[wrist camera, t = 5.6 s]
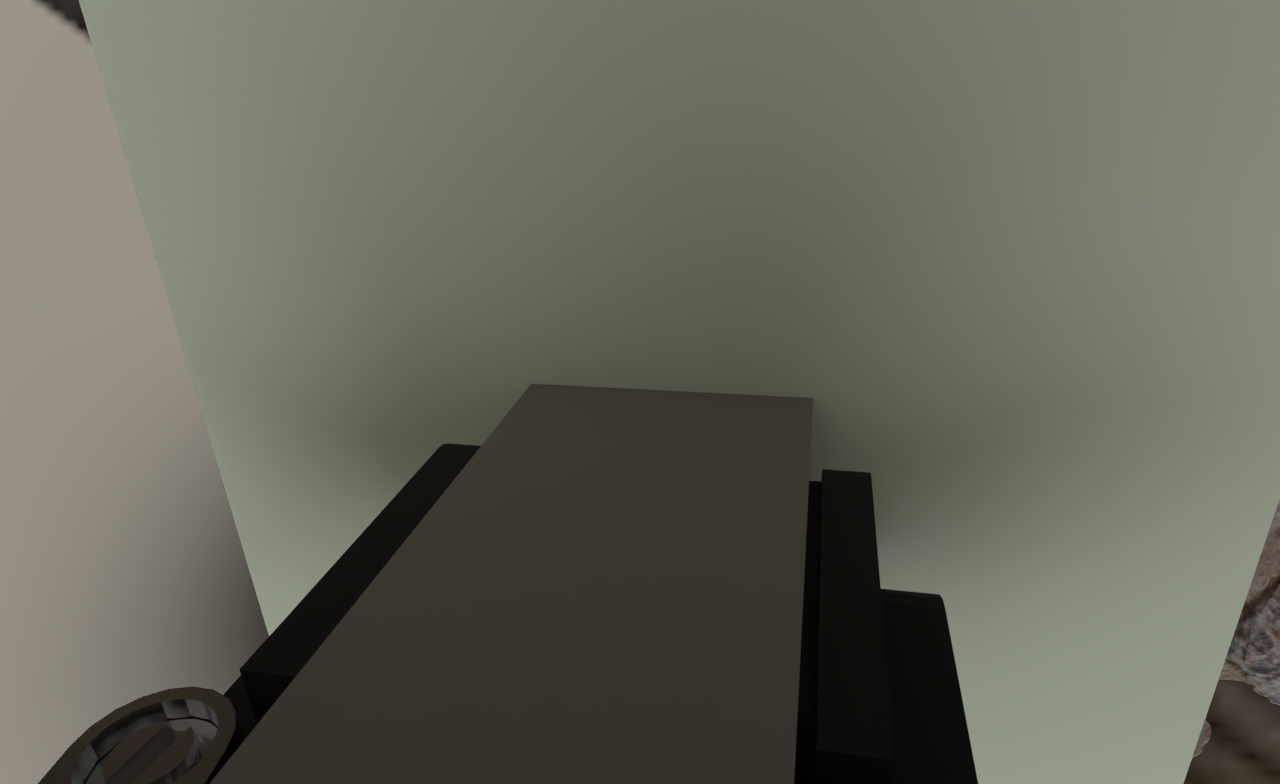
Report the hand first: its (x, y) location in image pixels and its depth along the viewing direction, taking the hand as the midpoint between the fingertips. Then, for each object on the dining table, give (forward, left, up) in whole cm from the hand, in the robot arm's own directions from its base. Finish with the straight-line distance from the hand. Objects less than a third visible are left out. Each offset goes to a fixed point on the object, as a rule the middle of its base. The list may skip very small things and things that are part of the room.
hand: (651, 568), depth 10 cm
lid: (0, 0, -2) cm, 2 cm away
